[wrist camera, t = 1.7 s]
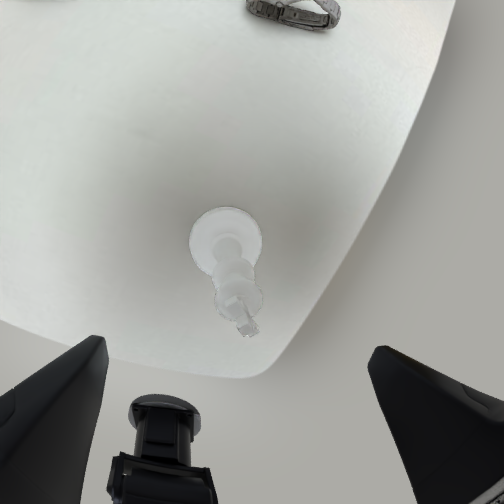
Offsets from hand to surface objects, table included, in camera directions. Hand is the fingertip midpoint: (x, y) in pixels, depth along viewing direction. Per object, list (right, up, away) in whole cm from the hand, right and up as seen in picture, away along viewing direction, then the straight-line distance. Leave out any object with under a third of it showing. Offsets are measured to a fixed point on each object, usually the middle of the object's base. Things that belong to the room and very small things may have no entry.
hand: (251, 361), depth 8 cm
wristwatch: (+2, +20, +6) cm, 21 cm away
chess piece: (-2, +4, +11) cm, 12 cm away
